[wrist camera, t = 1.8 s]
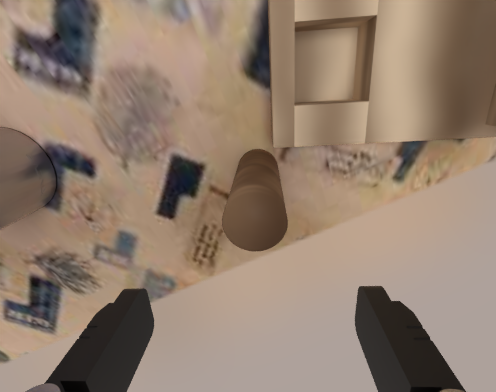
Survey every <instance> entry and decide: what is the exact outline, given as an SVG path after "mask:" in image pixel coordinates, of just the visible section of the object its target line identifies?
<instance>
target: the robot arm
mask: <svg viewBox="0 0 496 392" xmlns="http://www.w3.org/2000/svg"><path fill="white" fill-rule="evenodd" d="M55 189H56V176H55V172H54V168H53V166H52V164H51V161H50V160H49V158H48V157H47V155H46V154H45V152H44V151H43V150H42V149H41V148H40V147H39V145H38V144H37V143H35V142H34V141H33V140H31V139H30V138H29V137H27V136H26V135H24V134H22V133H20V132H18V131H15V130H12V129H9V128H3V127H0V230H1V229H3V228H5V227H6V226H8V225H10V224H12V223H14V222H16V221H18V220H19V219H21V218H23V217H25V216H27V215H28V214H30V213H32V212H34V211H36V210H38V209H39V208H41V207H43V206H45V205H46V204H47V203H48V202H49V201H50V200H51V199H52V197H53V195H54V193H55ZM355 326H356V332H357V336H358V339H359V341H360V344H361V346H362V350H363V352H364V355H365V358H366V360H367V363H368V365H369V368H370V371H371V374H372V376H373V379H374V382H375V384H376V387H377V390H378V392H466V391H465V389H464V388H463V387H462V385H461V384H460V382H459V381H458V379H457V378H456V376H455V375H454V373H453V372H452V370H451V369H450V367H449V366H448V364H447V363H446V361H445V359H444V358H443V356H442V355H441V353H440V352H439V351H438V349H437V347H436V346H435V345H434V343H433V341H431V340H430V337H429V335H428V334H427V332H426V331H425V329H423V328H422V325H421V323H420V322H419V320H418V319H417V317H416V316H415V314H414V313H413V312H412V311H411V310H410V309H408V308H407V307H406V306H405V305H404V304H403V303H401V302H400V301H391V300H390V298H389V296H388V295H387V293H386V291H385V290H384V288H383V287H382V286H360V287H359V289H358V295H357V304H356V314H355ZM153 329H154V318H153V313H152V310H151V305H150V301H149V297H148V293H147V291H146V289H124V290H123V291H122V292H121V293H120V295H119V296H118V298H117V299H116V300H115V302H114V303H109V304H107V305H106V306H105V307H104V308H103V309H101V310H100V311H99V312H98V313H96V315H95V316H94V317H93V319H92V320H91V321H90V323H89V324H88V325H87V328H86V329H84V331H83V332H82V334H81V335H80V336H79V339H77V340H76V342H75V343H74V345H73V346H72V347H71V349H70V350H69V351H68V353H67V354H66V355H65V357H64V358H63V359H62V361H61V362H60V364H59V365H58V366H57V367H56V369H55V370H54V372H53V373H52V374H51V376H50V377H49V378H48V380H47V381H46V382H45V383H44V384H41V385H38V386H35V387H33V388H31V389H29V390H27V391H26V392H127V389H128V387H129V385H130V383H131V381H132V379H133V376H134V374H135V371H136V370H137V367H138V365H139V363H140V361H141V358H142V356H143V354H144V352H145V350H146V347H147V345H148V343H149V341H150V338H151V336H152V333H153Z"/></svg>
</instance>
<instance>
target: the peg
mask: <svg viewBox="0 0 496 392" xmlns="http://www.w3.org/2000/svg"><path fill="white" fill-rule="evenodd" d="M287 225H288V220H287V214H286V209H285V203H284V198H283V193H282V187H281V182H280V177H279V171H278V166H277V162H276V160H275V158H274V157H273V156H272V155H271V154H270V153H269V152H267V151H265V150H261V149H255V150H251V151H249V152H247V153H246V154H244V155H243V157H242V158H241V160H240V162H239V165H238V168H237V171H236V175H235V178H234V181H233V184H232V187H231V191H230V194H229V197H228V200H227V204H226V207H225V210H224V213H223V218H222V226H223V230H224V232H225V234H226V236H227V238H228V239H229V240H230V241H231V242H232V243H233V244H234V245H236V246H237V247H239V248H242V249H244V250H248V251H263V250H267V249H269V248H271V247H273V246H275V245H276V244H277V243H279V242H280V241H281V239H282V238H283V237H284V235H285V233H286V230H287Z"/></svg>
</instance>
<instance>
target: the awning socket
mask: <svg viewBox="0 0 496 392" xmlns="http://www.w3.org/2000/svg"><path fill="white" fill-rule="evenodd" d="M268 22H269V57H270V92H271V127H272V142H273V148H284V147H304V146H324V145H344V144H364V143H384V142H404V141H424V140H443V139H463V138H483V137H496V0H268Z"/></svg>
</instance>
